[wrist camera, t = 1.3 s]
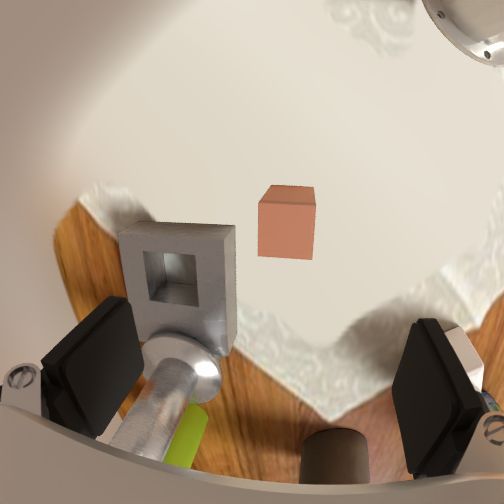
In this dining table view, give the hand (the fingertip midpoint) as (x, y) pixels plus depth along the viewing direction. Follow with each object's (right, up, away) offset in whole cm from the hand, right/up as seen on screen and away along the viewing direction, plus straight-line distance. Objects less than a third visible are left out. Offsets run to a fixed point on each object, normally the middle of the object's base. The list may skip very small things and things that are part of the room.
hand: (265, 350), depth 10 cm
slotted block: (-7, -3, +23) cm, 24 cm away
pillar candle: (+12, -25, +28) cm, 40 cm away
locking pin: (+3, +7, +17) cm, 19 cm away
